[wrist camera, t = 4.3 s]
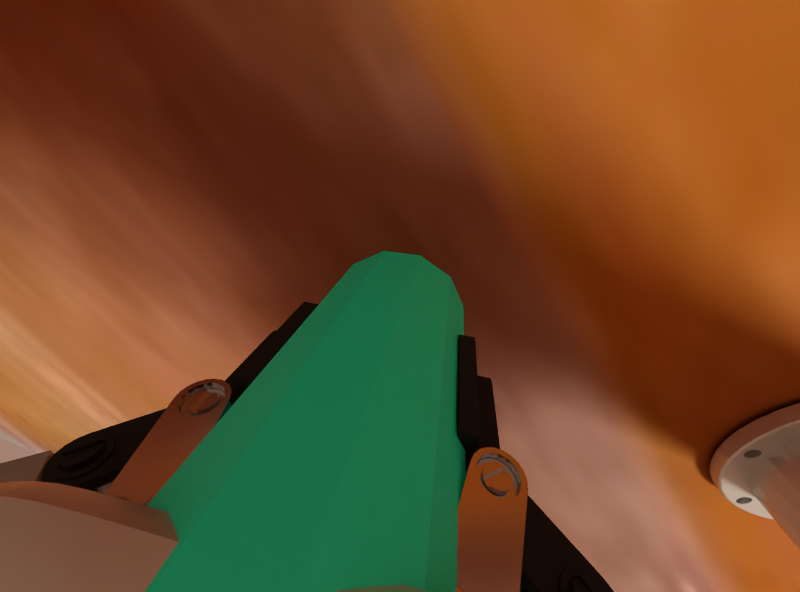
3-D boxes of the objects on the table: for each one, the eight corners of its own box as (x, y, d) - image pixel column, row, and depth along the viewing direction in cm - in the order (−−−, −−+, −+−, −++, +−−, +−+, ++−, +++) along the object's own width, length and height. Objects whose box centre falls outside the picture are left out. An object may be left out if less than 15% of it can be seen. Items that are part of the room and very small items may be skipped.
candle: (319, 259, 13) (-256, 758, 3) (455, 240, 11) (394, 1311, 1) (356, 363, 16) (144, 813, 5) (470, 359, 14) (492, 988, 4)
